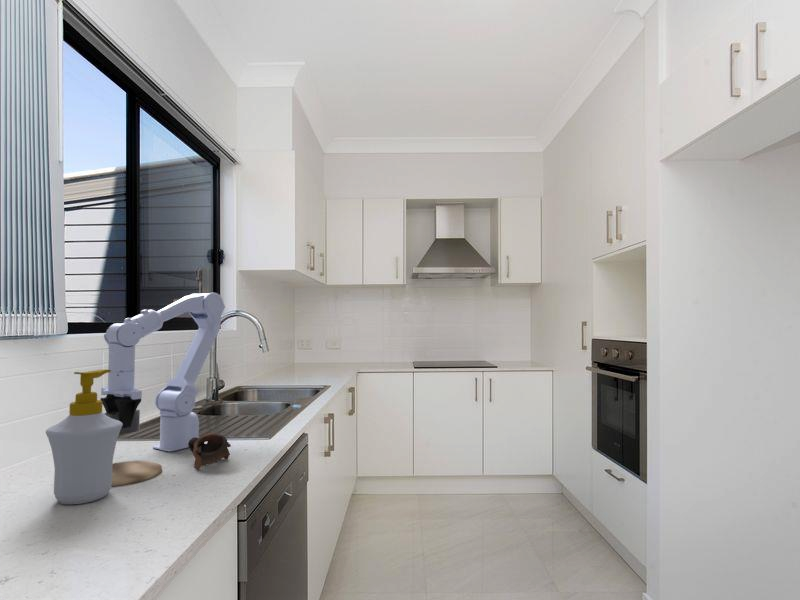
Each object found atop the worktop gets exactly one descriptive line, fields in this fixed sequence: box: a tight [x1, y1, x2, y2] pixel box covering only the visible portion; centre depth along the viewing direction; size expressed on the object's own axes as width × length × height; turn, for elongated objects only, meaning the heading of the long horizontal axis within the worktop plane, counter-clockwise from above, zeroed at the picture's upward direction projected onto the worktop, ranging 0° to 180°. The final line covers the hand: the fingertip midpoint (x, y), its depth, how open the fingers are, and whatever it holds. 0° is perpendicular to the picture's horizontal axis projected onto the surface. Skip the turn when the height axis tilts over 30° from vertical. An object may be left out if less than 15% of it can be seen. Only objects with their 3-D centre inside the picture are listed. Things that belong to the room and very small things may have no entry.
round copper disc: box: [111, 460, 163, 487], centre depth 110 cm, size 16×16×1 cm
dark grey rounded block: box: [103, 409, 141, 436], centre depth 120 cm, size 12×4×5 cm, turn 149°
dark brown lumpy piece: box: [188, 433, 232, 471], centre depth 118 cm, size 12×10×8 cm
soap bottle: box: [45, 369, 123, 505], centre depth 96 cm, size 13×13×25 cm
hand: (120, 426), depth 121 cm, fingers closed on dark grey rounded block, 4 cm apart
